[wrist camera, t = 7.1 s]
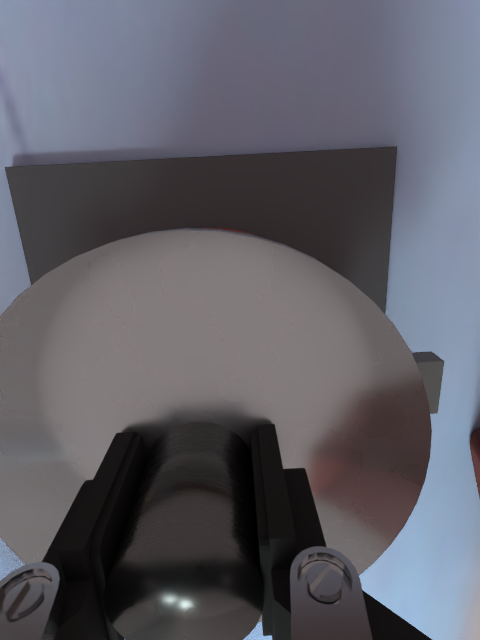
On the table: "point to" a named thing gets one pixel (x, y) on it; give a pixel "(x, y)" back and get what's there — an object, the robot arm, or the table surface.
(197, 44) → the table surface
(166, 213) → the plate
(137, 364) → the lid
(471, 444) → the plant pot
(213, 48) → the table surface
